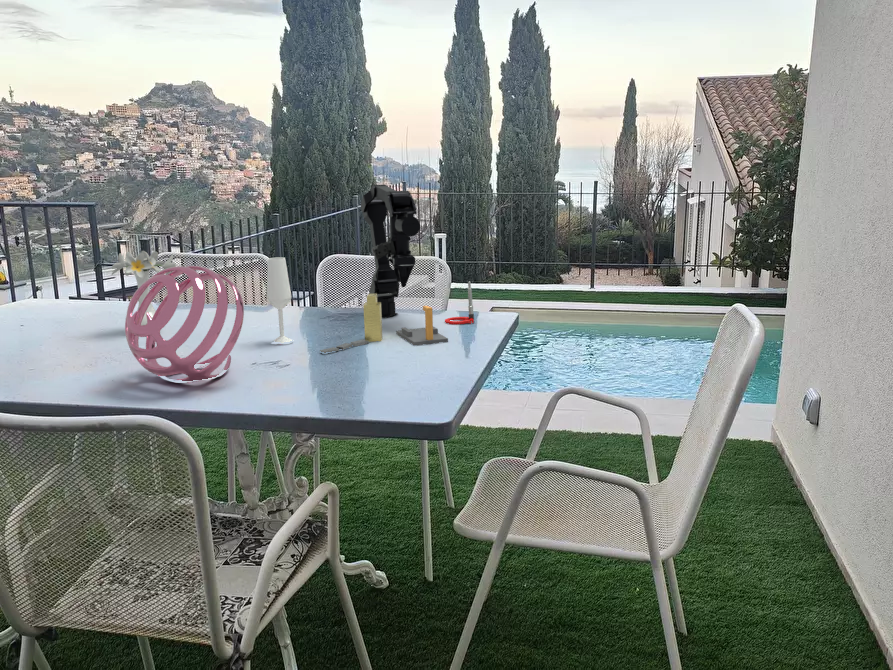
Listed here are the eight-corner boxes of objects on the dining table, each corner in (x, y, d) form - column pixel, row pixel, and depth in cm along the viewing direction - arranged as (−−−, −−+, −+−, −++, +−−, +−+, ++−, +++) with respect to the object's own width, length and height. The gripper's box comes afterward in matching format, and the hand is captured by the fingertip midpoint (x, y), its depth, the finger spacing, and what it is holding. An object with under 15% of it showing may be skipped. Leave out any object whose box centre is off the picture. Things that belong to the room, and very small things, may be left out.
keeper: (396, 333, 212) (395, 300, 210) (427, 330, 216) (427, 297, 214) (414, 345, 198) (413, 310, 196) (448, 341, 202) (447, 306, 199)
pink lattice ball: (226, 280, 190) (147, 230, 167) (294, 317, 175) (217, 267, 152) (168, 372, 186) (79, 332, 164) (231, 418, 171) (143, 381, 148)
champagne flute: (265, 343, 203) (258, 259, 198) (281, 338, 209) (275, 256, 204) (284, 346, 200) (277, 260, 195) (299, 340, 206) (293, 257, 201)
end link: (366, 338, 208) (364, 293, 205) (382, 337, 208) (380, 293, 205) (365, 341, 204) (363, 296, 201) (380, 341, 204) (379, 296, 201)
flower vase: (188, 329, 224) (180, 248, 219) (132, 340, 210) (121, 255, 205) (165, 324, 232) (157, 246, 227) (110, 334, 218) (99, 252, 213)
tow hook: (444, 326, 224) (474, 324, 223) (441, 285, 221) (471, 283, 220) (445, 320, 232) (474, 319, 231) (443, 281, 229) (472, 279, 228)
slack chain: (318, 353, 191) (318, 350, 191) (359, 341, 204) (359, 338, 204) (328, 355, 189) (328, 352, 189) (369, 343, 202) (369, 340, 201)
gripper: (369, 231, 223) (371, 280, 227) (376, 237, 206) (378, 291, 209) (405, 229, 225) (406, 279, 229) (415, 236, 208) (416, 289, 212)
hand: (401, 284), depth 220 cm, fingers open, 9 cm apart
